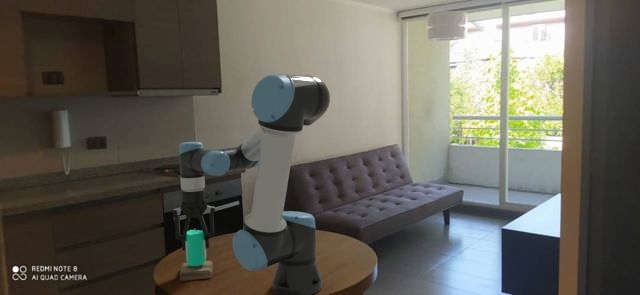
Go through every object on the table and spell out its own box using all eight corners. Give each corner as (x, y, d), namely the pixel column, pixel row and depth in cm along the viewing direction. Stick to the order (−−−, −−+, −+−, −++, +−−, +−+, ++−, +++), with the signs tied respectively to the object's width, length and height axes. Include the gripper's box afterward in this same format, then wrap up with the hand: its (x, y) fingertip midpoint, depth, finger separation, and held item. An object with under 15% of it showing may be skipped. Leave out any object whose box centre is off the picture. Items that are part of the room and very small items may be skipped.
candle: (183, 263, 152) (181, 228, 150) (199, 258, 156) (197, 224, 155) (193, 267, 148) (192, 231, 146) (209, 262, 152) (207, 227, 151)
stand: (211, 277, 148) (211, 270, 148) (179, 280, 147) (179, 273, 146) (212, 266, 158) (212, 259, 158) (182, 269, 156) (182, 262, 156)
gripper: (221, 185, 155) (223, 252, 157) (166, 188, 151) (169, 257, 154) (220, 190, 147) (223, 260, 150) (162, 193, 144) (166, 264, 146)
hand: (196, 258), depth 152 cm, fingers closed on candle, 5 cm apart
